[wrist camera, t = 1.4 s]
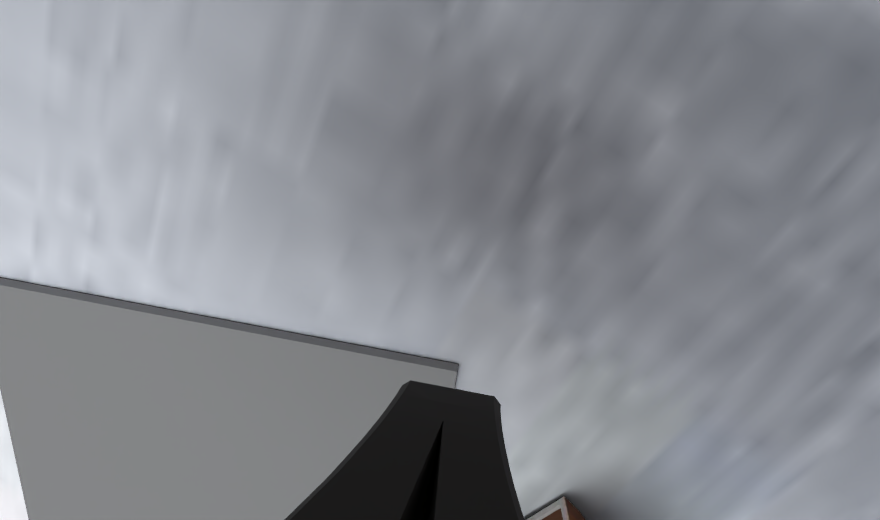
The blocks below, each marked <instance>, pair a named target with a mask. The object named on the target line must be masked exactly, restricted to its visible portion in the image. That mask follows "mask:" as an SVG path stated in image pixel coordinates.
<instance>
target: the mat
mask: <svg viewBox="0 0 880 520" xmlns="http://www.w3.org/2000/svg"><path fill="white" fill-rule="evenodd" d="M457 371H458V364H454V363H449V362H444V361H439V360H433V359H428V358H423V357H417V356H412V355H407V354H402V353H396V352H391V351H386V350H380V349H375V348H370V347H364V346H359V345H354V344H349V343H343V342H338V341H333V340H327V339H322V338H317V337H312V336H306V335H301V334H296V333H290V332H285V331H280V330H274V329H269V328H264V327H259V326H253V325H248V324H243V323H237V322H232V321H227V320H222V319H216V318H211V317H206V316H200V315H195V314H190V313H184V312H179V311H174V310H169V309H163V308H158V307H153V306H147V305H142V304H137V303H132V302H126V301H121V300H116V299H110V298H105V297H100V296H94V295H89V294H84V293H79V292H73V291H68V290H63V289H57V288H52V287H47V286H42V285H36V284H31V283H26V282H20V281H15V280H10V279H4V278H0V389H1V394H2V399H3V403H4V408H5V412H6V417H7V422H8V426H9V431H10V435H11V440H12V445H13V449H14V454H15V458H16V463H17V468H18V472H19V477H20V481H21V486H22V491H23V495H24V500H25V504H26V509H27V514H28V518H29V520H284V519H286V518H287V517H288V516H289V515H290V514H291V513H292V512H293V511H294V510H295V509H296V508H297V507H298V506H299V505H300V504H301V503H302V502H303V501H304V500H305V499H306V498H307V497H308V496H309V495H310V494H311V493H312V492H313V491H314V490H315V489H316V488H317V487H318V486H319V485H320V484H321V483H322V482H323V481H324V480H325V479H326V478H327V477H328V476H329V475H330V474H331V473H332V472H333V471H334V470H335V469H336V468H337V466H338V465H339V464H340V463H341V462H342V461H343V460H344V459H345V457H346V456H347V455H348V454H349V453H350V452H351V451H352V450H353V449H354V447H355V446H356V445H357V444H358V443H359V442H360V441H361V440H362V438H363V437H364V436H365V435H366V434H367V432H368V431H369V430H370V429H371V427H372V426H373V425H374V424H375V423H376V421H377V420H378V419H379V418H380V416H381V415H382V414H383V412H384V411H385V410H386V408H387V407H388V406H389V404H390V403H391V401H392V400H393V399H394V397H395V396H396V394H397V393H398V391H399V389H400V388H401V386H402V385H403V384H405V383H407V382H408V381H410V380H412V381H417V382H422V383H427V384H433V385H438V386H443V387H448V388H453V389H455V383H456V377H457Z"/></svg>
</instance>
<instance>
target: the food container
mask: <svg viewBox="0 0 880 520" xmlns="http://www.w3.org/2000/svg"><path fill="white" fill-rule="evenodd" d="M527 520H585V518H584V517H583V516H582V514H581V513H580V511H579V510H578V509H577V508H576V507H575V506H574V505H573V504H572V503H571V502H570V501H569V500H568V499H567V498H566V497H562V498H561V499H559V500H557V501H556V502H554V503H553V504H551V505H549V506H548V507H546V508H544V509H543V510H541V511H540V512H538V513H536V514H535V515H533V516H532V517H530V518H528V519H527Z"/></svg>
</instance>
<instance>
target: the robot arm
mask: <svg viewBox="0 0 880 520" xmlns="http://www.w3.org/2000/svg"><path fill="white" fill-rule="evenodd" d="M500 406H501V405H500V403H499V402H498V401H497V399H496V398H495V397H494V396H489V395H484V394H479V393H474V392H469V391H464V390H458V389H453V388H448V387H443V386H438V385H433V384H427V383H422V382H417V381H412V380H410V381H408V382H407V383H405V384H403V385H402V386H401V388H400V389H399V391H398V393H397V394H396V396H395V397H394V399H393V400H392V401H391V403H390V404H389V406H388V407H387V408H386V410H385V411H384V412H383V414H382V415H381V416H380V418H379V419H378V420H377V421H376V423H375V424H374V425H373V426H372V427H371V429H370V430H369V431H368V432H367V434H366V435H365V436H364V437H363V438H362V440H361V441H360V442H359V443H358V444H357V445H356V446H355V447H354V449H353V450H352V451H351V452H350V453H349V454H348V455H347V456H346V457H345V459H344V460H343V461H342V462H341V463H340V464H339V465H338V466H337V468H336V469H335V470H334V471H333V472H332V473H331V474H330V475H329V476H328V477H327V478H326V479H325V480H324V481H323V482H322V483H321V484H320V485H319V486H318V487H317V488H316V489H315V490H314V491H313V492H312V493H311V494H310V495H309V496H308V497H307V498H306V499H305V500H304V501H303V502H302V503H301V504H300V505H299V506H298V507H297V508H296V509H295V510H294V511H293V512H292V513H291V514H290V515H289V516H288V517H287V518H286V519H284V520H524V518H523V515H522V511H521V508H520V504H519V501H518V497H517V494H516V491H515V487H514V484H513V480H512V476H511V472H510V468H509V463H508V458H507V454H506V449H505V444H504V438H503V432H502V425H501V412H500Z"/></svg>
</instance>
